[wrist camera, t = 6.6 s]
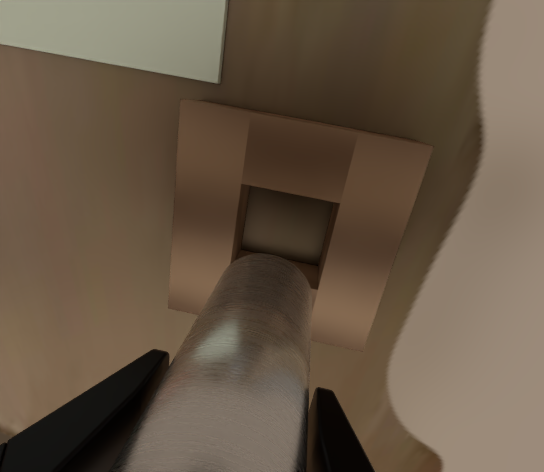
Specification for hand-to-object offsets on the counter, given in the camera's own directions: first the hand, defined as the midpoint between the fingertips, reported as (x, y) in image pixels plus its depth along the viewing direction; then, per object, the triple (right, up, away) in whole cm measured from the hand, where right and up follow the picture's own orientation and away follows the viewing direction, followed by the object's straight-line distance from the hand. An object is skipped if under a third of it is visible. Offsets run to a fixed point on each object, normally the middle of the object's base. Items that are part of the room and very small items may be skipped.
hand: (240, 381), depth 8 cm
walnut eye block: (+2, +5, +12) cm, 13 cm away
